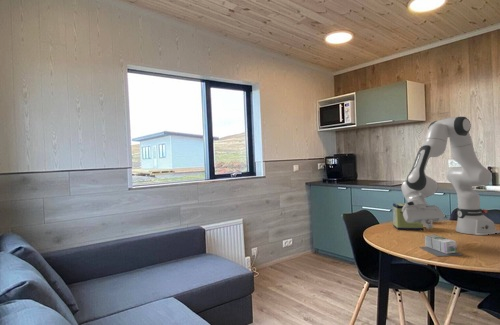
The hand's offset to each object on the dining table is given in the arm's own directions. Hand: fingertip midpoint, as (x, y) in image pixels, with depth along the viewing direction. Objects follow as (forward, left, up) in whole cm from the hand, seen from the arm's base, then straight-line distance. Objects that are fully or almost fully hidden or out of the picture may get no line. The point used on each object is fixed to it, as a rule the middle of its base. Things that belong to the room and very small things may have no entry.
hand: (430, 227), depth 163 cm
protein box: (-11, -41, -10) cm, 44 cm away
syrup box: (0, -1, -7) cm, 7 cm away
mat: (0, +7, -10) cm, 12 cm away
